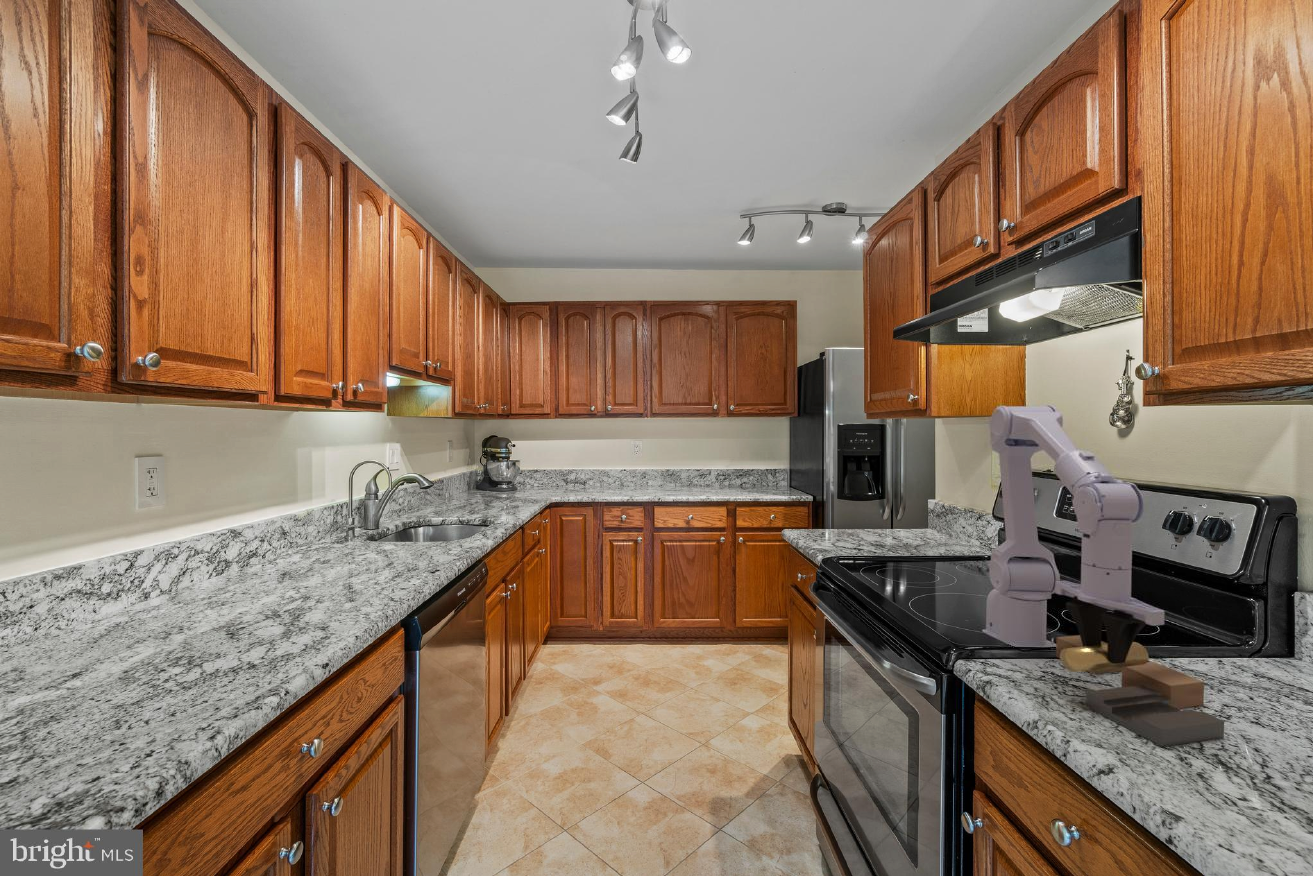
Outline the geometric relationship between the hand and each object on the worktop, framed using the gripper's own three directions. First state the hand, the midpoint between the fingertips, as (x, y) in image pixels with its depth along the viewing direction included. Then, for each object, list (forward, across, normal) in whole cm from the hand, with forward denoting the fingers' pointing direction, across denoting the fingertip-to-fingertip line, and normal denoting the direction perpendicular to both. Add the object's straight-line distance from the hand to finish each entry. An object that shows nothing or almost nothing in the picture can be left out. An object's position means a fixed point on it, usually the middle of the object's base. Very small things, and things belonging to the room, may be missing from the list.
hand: (1104, 656), depth 81 cm
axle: (+2, 0, 0) cm, 2 cm away
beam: (+6, -5, +10) cm, 13 cm away
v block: (+6, +6, +1) cm, 9 cm away
